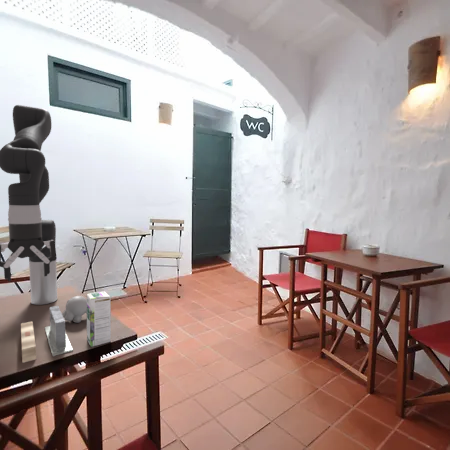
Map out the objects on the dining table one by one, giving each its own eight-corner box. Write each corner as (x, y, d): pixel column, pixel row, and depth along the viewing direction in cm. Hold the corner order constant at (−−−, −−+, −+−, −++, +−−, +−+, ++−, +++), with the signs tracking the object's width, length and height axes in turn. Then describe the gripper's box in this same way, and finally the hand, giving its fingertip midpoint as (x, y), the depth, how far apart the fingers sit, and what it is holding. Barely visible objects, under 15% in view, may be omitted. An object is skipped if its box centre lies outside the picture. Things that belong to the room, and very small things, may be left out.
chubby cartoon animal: (98, 326, 104) (107, 303, 105) (62, 322, 96) (72, 297, 97) (92, 319, 109) (101, 297, 110) (58, 315, 102) (68, 291, 103)
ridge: (44, 328, 96) (43, 305, 95) (61, 324, 99) (61, 301, 98) (52, 356, 80) (51, 328, 79) (72, 350, 83) (72, 323, 82)
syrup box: (86, 339, 89) (85, 293, 88) (106, 334, 93) (105, 290, 91) (90, 347, 85) (89, 299, 83) (111, 341, 88) (111, 295, 87)
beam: (21, 335, 91) (20, 323, 91) (32, 333, 93) (32, 321, 93) (22, 363, 77) (21, 348, 76) (36, 360, 78) (35, 345, 78)
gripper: (52, 219, 89) (54, 271, 90) (-8, 221, 80) (-4, 278, 82) (56, 221, 83) (58, 277, 84) (-8, 223, 74) (-4, 285, 76)
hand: (27, 278), depth 83 cm, fingers open, 8 cm apart
